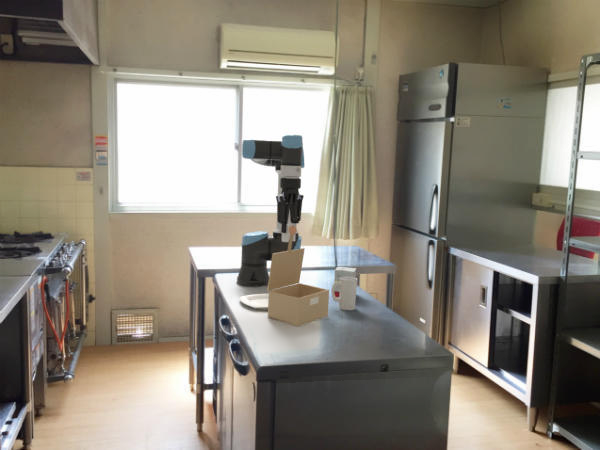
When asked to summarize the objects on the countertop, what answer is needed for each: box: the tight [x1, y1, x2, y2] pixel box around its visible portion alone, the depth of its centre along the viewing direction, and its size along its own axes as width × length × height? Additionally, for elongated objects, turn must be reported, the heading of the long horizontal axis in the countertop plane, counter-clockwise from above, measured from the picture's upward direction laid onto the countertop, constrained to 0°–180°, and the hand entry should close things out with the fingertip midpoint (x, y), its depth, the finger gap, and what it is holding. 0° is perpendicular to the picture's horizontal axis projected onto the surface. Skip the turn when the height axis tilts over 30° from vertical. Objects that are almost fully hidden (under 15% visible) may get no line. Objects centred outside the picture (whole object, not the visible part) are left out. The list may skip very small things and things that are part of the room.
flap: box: [266, 226, 305, 292], centre depth 210 cm, size 24×18×3 cm
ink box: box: [333, 266, 357, 298], centre depth 242 cm, size 9×9×12 cm
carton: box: [267, 282, 330, 327], centre depth 208 cm, size 14×18×10 cm
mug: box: [330, 277, 358, 311], centre depth 222 cm, size 10×7×12 cm, turn 101°
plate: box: [239, 293, 269, 310], centre depth 224 cm, size 19×19×2 cm
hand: (288, 241), depth 209 cm, fingers closed on flap, 3 cm apart
